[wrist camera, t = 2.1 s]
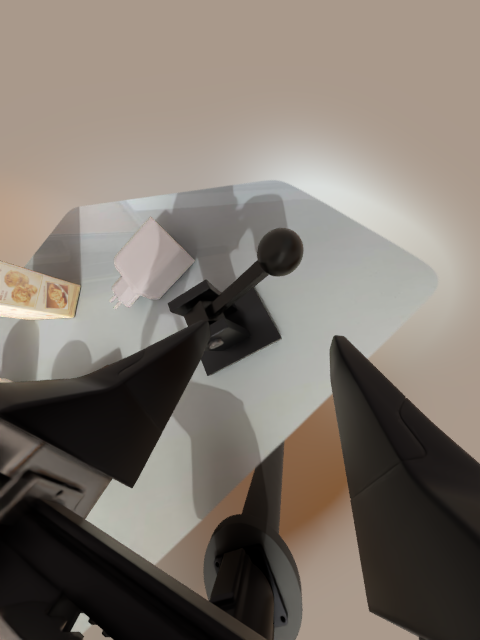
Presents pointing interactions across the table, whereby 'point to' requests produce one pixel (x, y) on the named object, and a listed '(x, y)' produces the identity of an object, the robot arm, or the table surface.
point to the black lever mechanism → (230, 326)
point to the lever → (254, 274)
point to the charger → (148, 264)
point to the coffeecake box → (35, 294)
